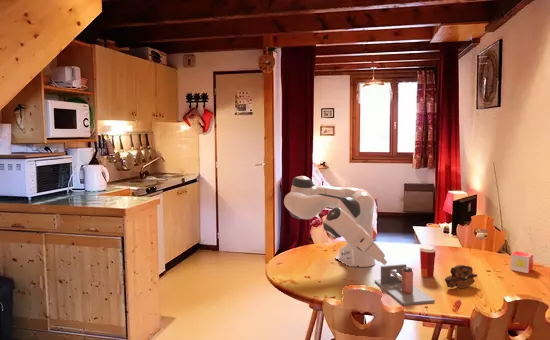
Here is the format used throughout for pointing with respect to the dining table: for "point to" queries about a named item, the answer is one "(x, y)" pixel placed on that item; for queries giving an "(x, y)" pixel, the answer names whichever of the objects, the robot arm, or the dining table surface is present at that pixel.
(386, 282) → the gray stand
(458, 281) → the wooden carving
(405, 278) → the pink l-shaped bar
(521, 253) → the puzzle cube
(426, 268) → the paper cup
